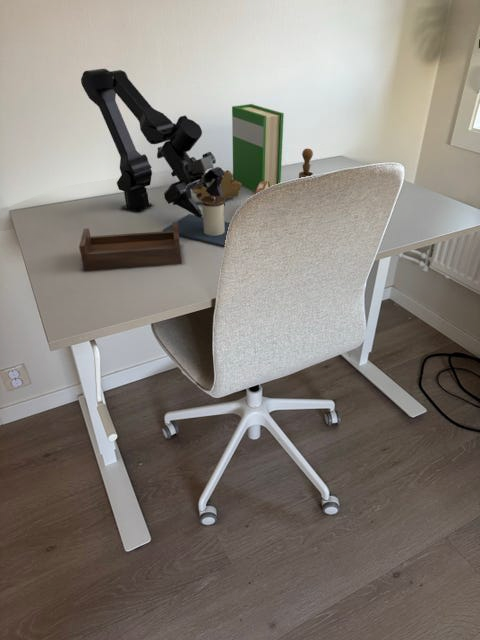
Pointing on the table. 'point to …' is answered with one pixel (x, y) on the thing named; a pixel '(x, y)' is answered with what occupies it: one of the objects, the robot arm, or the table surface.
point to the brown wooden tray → (130, 249)
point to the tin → (262, 186)
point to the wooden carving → (227, 187)
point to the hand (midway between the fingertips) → (212, 211)
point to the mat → (198, 230)
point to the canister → (213, 215)
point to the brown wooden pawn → (306, 163)
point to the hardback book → (256, 145)
